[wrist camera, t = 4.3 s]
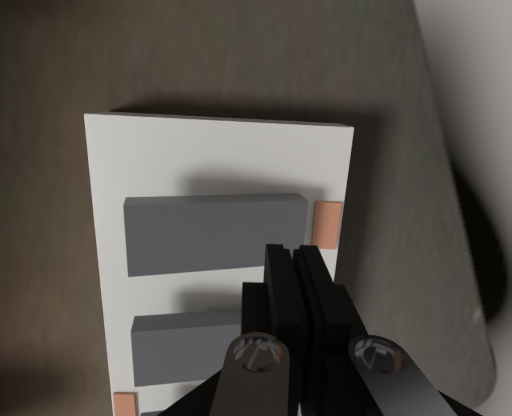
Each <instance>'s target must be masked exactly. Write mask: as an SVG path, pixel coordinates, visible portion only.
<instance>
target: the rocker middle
mask: <svg viewBox="0 0 512 416" xmlns="http://www.w3.org/2000/svg"><path fill="white" fill-rule="evenodd" d="M240 332H241V309H235V310H220V311H205V312H189V313H174V314H159V315H143V316H134V320H133V324H132V328H131V345H132V359H133V373H134V387H141V386H151V385H161V384H171V383H180V382H190V381H200V380H207V379H208V378H210V377H211V376H213V375H214V374H215V373H217V372H218V371H220V370H221V369H222V367H223V363H224V360H225V356H226V352H227V349H228V347H229V345H230V343H231V342H232V341H233V340H234V339H235V338H237V337H239V336H240Z"/></svg>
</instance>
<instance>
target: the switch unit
mask: <svg viewBox="0 0 512 416" xmlns="http://www.w3.org/2000/svg"><path fill="white" fill-rule="evenodd" d="M84 120H85V130H86V140H87V150H88V161H89V171H90V181H91V191H92V202H93V212H94V222H95V232H96V243H97V253H98V263H99V273H100V284H101V294H102V304H103V314H104V325H105V335H106V345H107V355H108V366H109V376H110V386H111V396H112V407H113V416H140V415H141V413H144V412H153V411H161V410H165V409H167V408H168V407H169V406H171V405H172V404H174V403H175V402H176V401H178V400H179V399H180V398H182V397H183V396H185V395H186V394H187V393H189V392H190V391H192V390H193V389H194V388H196V387H197V386H199V385H200V384H201V383H203V382H204V381H206V380H200V381H190V382H180V383H171V384H161V385H151V386H141V387H134V373H133V359H132V345H131V328H132V324H133V320H134V316H143V315H159V314H174V313H189V312H205V311H220V310H235V309H241V301H242V282H263V277H264V266H261V267H248V268H236V269H223V270H211V271H199V272H186V273H174V274H161V275H149V276H137V277H128V269H127V254H126V240H125V226H124V211H123V205H124V201H125V198H126V197H156V196H200V195H243V194H286V193H299V194H300V195H301V196H303V197H304V198H306V199H307V200H308V207H307V217H306V227H305V237H304V245H317V246H318V248H319V250H320V253H321V255H322V257H323V259H324V262H325V264H326V266H327V269H328V271H329V273H330V275H331V278H332V280H333V282H334V275H335V267H336V260H337V252H338V245H339V237H340V230H341V222H342V215H343V207H344V200H345V192H346V185H347V178H348V170H349V163H350V155H351V148H352V140H353V133H354V127H351V126H347V125H344V124H340V123H321V122H301V121H282V120H263V119H243V118H224V117H204V116H185V115H165V114H146V113H127V112H97V113H86V114H84ZM298 416H302V415H301V409H300V403H299V409H298Z"/></svg>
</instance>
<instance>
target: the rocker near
mask: <svg viewBox="0 0 512 416" xmlns="http://www.w3.org/2000/svg"><path fill="white" fill-rule="evenodd" d="M307 207H308V200H307V199H306V198H304V197H303V196H301V195H300V194H299V193H286V194H243V195H200V196H156V197H126V198H125V201H124V205H123V211H124V226H125V240H126V254H127V269H128V277H137V276H149V275H161V274H174V273H186V272H199V271H211V270H223V269H236V268H248V267H261V266H264V262H265V248H266V244H283V247H284V249H289V250H290V254H291V257H292V256H293V250H294V249H299V246H300V245H304V237H305V227H306V217H307Z"/></svg>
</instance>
